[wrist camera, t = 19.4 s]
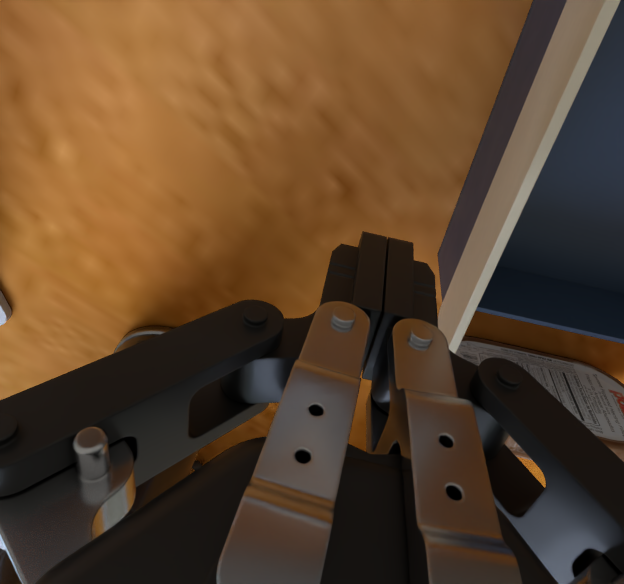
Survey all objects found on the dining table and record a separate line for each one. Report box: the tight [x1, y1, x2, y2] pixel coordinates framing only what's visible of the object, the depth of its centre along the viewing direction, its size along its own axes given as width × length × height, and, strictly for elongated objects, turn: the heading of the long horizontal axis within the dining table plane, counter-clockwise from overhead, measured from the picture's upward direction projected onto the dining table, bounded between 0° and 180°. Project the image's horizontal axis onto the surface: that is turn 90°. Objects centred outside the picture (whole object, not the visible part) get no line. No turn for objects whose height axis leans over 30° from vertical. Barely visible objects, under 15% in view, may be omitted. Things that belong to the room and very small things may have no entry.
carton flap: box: [438, 0, 621, 353], centre depth 20 cm, size 18×8×1 cm
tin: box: [455, 336, 624, 462], centre depth 34 cm, size 15×3×8 cm, turn 80°
